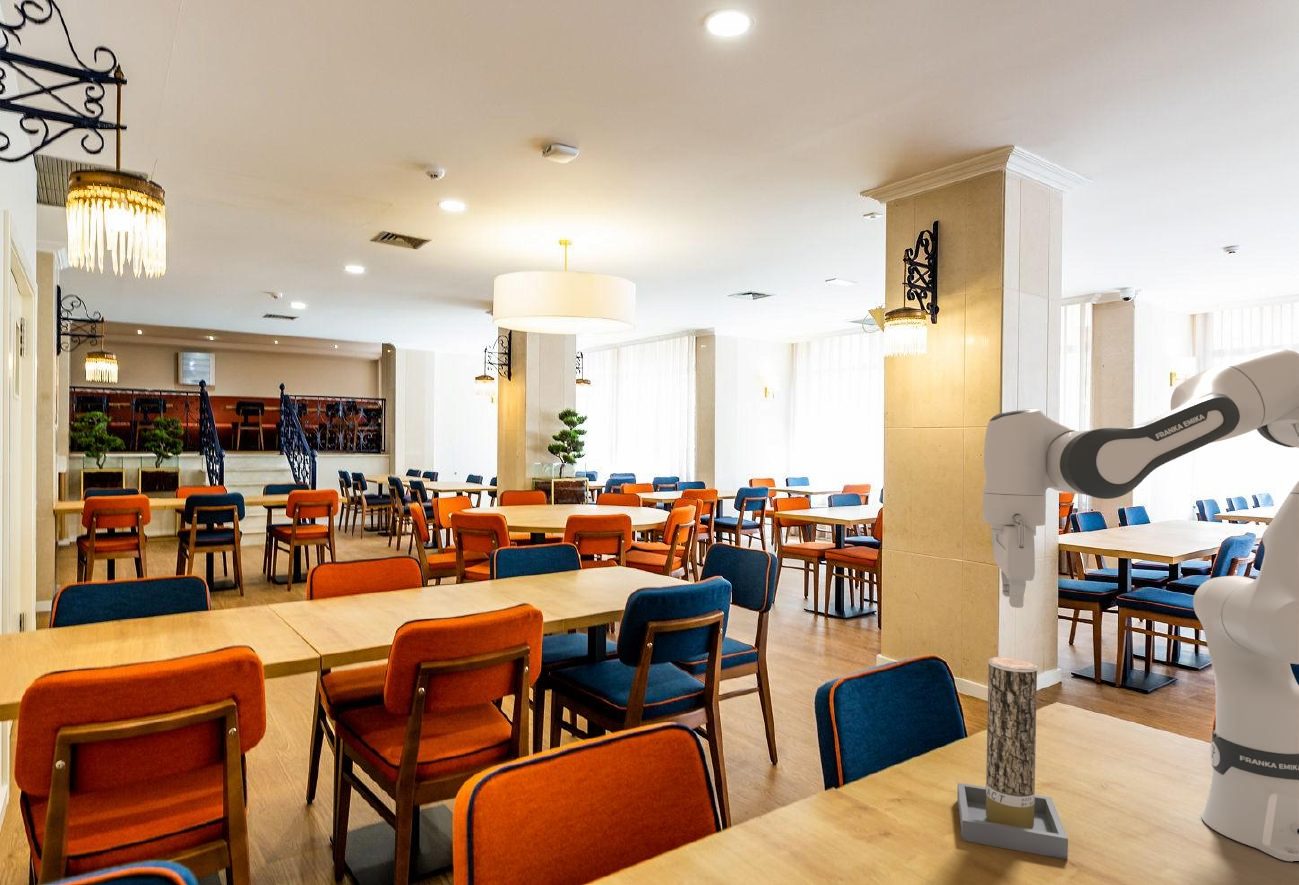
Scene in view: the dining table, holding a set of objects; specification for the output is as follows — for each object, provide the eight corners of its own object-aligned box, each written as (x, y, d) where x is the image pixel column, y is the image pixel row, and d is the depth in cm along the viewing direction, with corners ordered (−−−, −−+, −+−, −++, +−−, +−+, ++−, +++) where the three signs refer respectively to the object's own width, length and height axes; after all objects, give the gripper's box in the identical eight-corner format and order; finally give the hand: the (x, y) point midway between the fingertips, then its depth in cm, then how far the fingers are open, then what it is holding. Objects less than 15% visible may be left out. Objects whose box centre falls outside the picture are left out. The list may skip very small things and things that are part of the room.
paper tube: (1023, 815, 120) (1026, 657, 120) (1041, 836, 113) (1044, 670, 113) (979, 812, 120) (982, 655, 121) (994, 833, 114) (998, 667, 114)
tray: (1050, 816, 121) (1051, 797, 121) (1067, 859, 108) (1067, 838, 108) (957, 800, 126) (957, 782, 126) (962, 840, 112) (962, 820, 113)
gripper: (1047, 518, 107) (1045, 616, 106) (1027, 509, 126) (1025, 592, 126) (998, 516, 109) (996, 612, 108) (985, 507, 128) (984, 589, 128)
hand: (1012, 601), depth 117 cm, fingers open, 8 cm apart
